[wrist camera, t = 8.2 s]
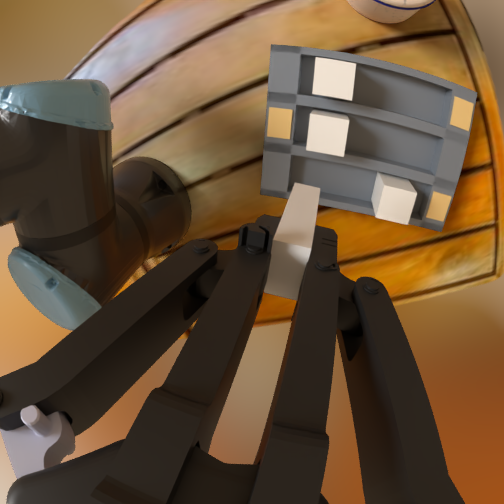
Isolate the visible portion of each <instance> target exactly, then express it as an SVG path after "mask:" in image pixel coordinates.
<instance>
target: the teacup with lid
mask: <svg viewBox="0 0 504 504" xmlns="http://www.w3.org/2000/svg"><path fill="white" fill-rule="evenodd" d="M347 1H348V3H349V4H350V5H351V6H352V7H353V8H354V9H355V10H356V11H357V12H359V13H360V14H361V15H363V16H365V17H367V18H369V19H371V20H374V21H377V22H381V23H399V22H402V21H405V20H407V19H408V18H410V17H411V16H412V15H414V14H415V13H416V12H417V11H419V10H420V9H422V8H425V7H427V6H429V5H431V4H432V3H433V2H435V1H436V0H347Z"/></svg>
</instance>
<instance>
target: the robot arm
mask: <svg viewBox="0 0 504 504" xmlns="http://www.w3.org/2000/svg"><path fill="white" fill-rule="evenodd" d="M112 129H113V123H112V122H111V107H110V92H109V90H108V88H107V86H106V85H105V84H104V83H102V82H101V81H99V80H94V79H70V80H52V81H39V82H30V83H22V84H15V85H7V86H2V87H0V226H3V225H6V224H9V223H13V225H14V227H15V231H16V235H17V238H18V241H19V246H18V247H15V248H14V249H12V252H11V254H10V255H9V257H8V268H9V271H10V273H11V276H12V278H13V279H14V281H15V283H16V284H17V286H18V287H19V289H20V290H21V292H22V293H23V294H24V295H25V296H26V298H27V299H28V300H29V301H30V302H31V303H32V304H33V305H34V307H35V308H37V309H38V310H39V311H40V312H41V313H42V314H43V315H44V316H46V317H47V318H48V319H50V320H51V321H52V322H54V323H56V324H57V325H59V326H61V327H63V328H65V329H68V330H72V332H71V333H70V334H69V335H67V336H66V337H65V338H64V339H63V340H61V341H60V342H59V343H58V344H57V345H55V346H54V347H53V348H52V349H51V350H49V351H48V352H47V353H46V354H45V355H44V356H42V357H41V358H40V359H39V360H38V361H37V362H35V363H33V364H30V365H28V366H26V367H23V368H21V369H19V370H16V371H14V372H11V373H9V374H7V375H4V376H2V377H0V431H1V433H2V437H3V440H4V444H5V447H6V450H7V453H8V456H9V459H10V462H11V465H12V467H13V470H14V473H15V475H16V478H17V480H16V481H15V482H14V483H13V484H12V486H11V487H10V489H9V491H8V495H7V502H6V504H329V503H328V501H327V500H326V499H325V497H324V496H323V495H322V494H321V493H320V492H321V487H322V482H323V477H324V472H325V466H326V461H327V455H328V449H329V436H328V435H327V434H326V421H327V415H328V408H329V399H330V392H331V384H332V375H333V364H334V355H335V342H336V334H337V339H338V343H339V348H340V352H341V357H342V362H343V367H344V372H345V377H346V382H347V388H348V393H349V398H350V404H351V410H352V415H353V421H354V427H355V433H356V439H357V446H358V453H359V460H360V468H361V475H362V483H363V491H364V497H365V503H366V504H465V502H464V501H463V499H462V497H461V496H460V494H459V492H458V490H457V489H456V487H455V485H454V484H453V482H452V480H451V478H450V477H449V475H448V470H447V466H446V461H445V457H444V453H443V449H442V445H441V441H440V437H439V433H438V430H437V426H436V423H435V419H434V415H433V412H432V409H431V406H430V402H429V399H428V396H427V393H426V390H425V387H424V384H423V381H422V378H421V375H420V372H419V369H418V367H417V364H416V361H415V358H414V356H413V353H412V350H411V348H410V345H409V342H408V340H407V338H406V335H405V332H404V330H403V327H402V325H401V323H400V320H399V318H398V315H397V313H396V311H395V308H394V306H393V303H392V301H391V299H390V297H389V294H388V292H387V290H386V288H385V287H384V285H383V284H382V283H381V282H379V281H378V280H376V279H374V278H371V277H361V278H359V279H357V281H356V282H355V281H352V280H350V279H348V278H347V277H345V276H344V275H342V274H341V273H340V269H339V265H338V264H337V234H336V233H335V231H334V230H333V229H329V228H325V227H321V226H316V225H315V223H316V216H317V209H318V202H319V195H320V188H317V187H313V186H309V185H304V184H300V183H295V184H294V186H293V189H292V191H291V194H290V197H289V199H288V202H287V205H286V207H285V210H284V213H283V215H282V218H278V217H274V216H269V215H265V214H264V215H262V216H261V217H259V218H258V219H257V220H256V222H255V223H248V224H245V225H243V226H241V227H240V231H239V242H238V247H237V249H235V250H218V246H217V245H216V244H215V243H214V242H212V241H211V240H207V239H195V240H192V241H190V242H188V243H187V244H185V245H184V246H182V247H181V248H180V249H178V250H177V251H176V252H174V253H173V254H171V255H170V256H169V257H167V258H166V259H165V260H163V261H162V262H161V263H159V264H158V265H157V266H155V267H154V268H153V269H151V270H150V271H149V272H147V273H146V274H145V275H143V276H142V277H141V278H139V279H138V280H137V281H135V282H134V283H133V284H131V285H130V286H129V287H128V288H126V289H125V290H124V291H122V292H121V293H120V294H119V295H117V296H116V297H115V298H113V297H114V296H115V295H116V294H117V293H118V291H119V290H120V289H121V288H122V287H123V286H124V284H125V283H126V282H127V281H128V280H129V278H130V277H131V276H132V275H133V274H134V273H135V272H136V270H137V269H138V268H139V267H140V266H141V265H142V264H143V263H144V262H145V261H146V260H148V259H151V258H153V257H155V256H157V255H159V254H161V253H164V252H166V251H168V250H170V249H172V248H173V247H174V246H175V245H176V244H177V243H178V242H179V241H180V240H181V239H182V238H183V236H184V235H185V234H186V232H187V230H188V228H189V225H190V220H191V206H190V201H189V197H188V195H187V192H186V190H185V188H184V186H183V184H182V182H181V181H180V179H179V178H178V177H177V176H176V174H175V173H174V172H173V171H172V170H171V169H169V168H168V167H167V166H166V165H164V164H163V163H161V162H159V161H157V160H155V159H152V158H148V157H133V158H130V159H127V160H125V161H123V162H121V163H120V164H118V165H116V166H115V167H114V168H113V167H112V142H111V130H112ZM264 288H265V289H264ZM263 291H264V293H268V294H272V295H276V296H280V297H284V298H289V299H293V300H297V302H296V306H295V309H294V313H293V316H292V319H291V321H292V323H291V328H290V332H289V336H288V340H287V344H286V349H285V353H284V357H283V361H282V365H281V369H280V373H279V377H278V381H277V385H276V388H275V392H274V396H273V400H272V403H271V407H270V411H269V414H268V418H267V422H266V425H265V429H264V432H263V436H262V439H261V443H260V446H259V449H258V452H257V455H256V458H255V461H254V464H253V465H250V464H248V465H247V464H227V463H223V462H221V461H219V460H218V459H216V458H214V457H213V456H211V455H209V454H208V451H209V448H210V444H211V440H212V437H213V434H214V431H215V429H216V426H217V423H218V420H219V417H220V415H221V413H222V410H223V407H224V405H225V402H226V399H227V396H228V394H229V391H230V388H231V385H232V383H233V380H234V377H235V375H236V372H237V369H238V366H239V364H240V360H241V358H242V355H243V352H244V350H245V347H246V344H247V341H248V338H249V335H250V333H251V330H252V327H253V324H254V321H255V318H256V315H257V313H258V310H259V307H260V304H261V301H262V296H263ZM197 319H198V320H197ZM196 320H197V322H196V324H195V326H194V327H193V329H192V331H191V333H190V335H189V337H188V339H187V341H186V343H185V344H184V346H183V348H182V350H181V352H180V354H179V356H178V357H177V359H176V361H175V363H174V365H173V367H172V369H171V371H170V373H169V374H168V377H167V378H166V380H165V382H164V384H163V385H162V386H161V387H159V388H155V389H154V390H152V391H151V393H150V394H149V396H148V397H147V399H146V401H145V403H144V404H143V406H142V409H141V410H140V412H139V414H138V416H137V418H136V419H135V421H134V423H133V425H132V427H131V429H130V431H129V433H128V434H127V436H126V439H123V440H120V441H117V442H114V443H112V444H110V445H108V446H105V447H103V448H100V449H98V450H95V451H93V452H91V453H88V454H85V455H83V456H80V457H78V458H75V459H72V460H69V461H67V462H64V463H61V461H62V459H63V458H64V457H65V456H66V455H70V454H72V453H73V452H74V450H75V436H76V435H79V434H81V433H82V432H83V431H85V430H86V429H88V428H89V427H91V426H92V425H93V424H94V423H95V422H97V421H98V420H99V419H100V418H101V417H102V416H103V415H104V414H105V413H106V412H107V411H108V410H109V409H110V408H111V407H112V406H113V405H114V404H115V403H116V402H117V401H118V400H119V399H120V398H121V397H122V396H123V395H124V394H125V392H127V390H128V389H130V387H131V386H132V385H133V384H134V383H135V382H136V381H137V380H138V379H139V378H140V377H141V376H142V375H143V374H144V373H145V372H146V371H147V370H148V369H149V368H150V367H151V366H152V365H153V364H154V363H155V362H156V361H157V360H158V359H159V358H160V357H161V356H162V355H163V354H164V353H165V352H166V351H167V350H168V349H169V348H170V347H171V346H172V344H173V343H174V342H175V341H176V340H177V339H178V338H179V337H180V336H181V335H182V334H183V333H184V332H185V331H186V330H187V329H188V328H189V327H190V326H191V325H192V324H193V323H194V322H195V321H196ZM60 463H61V464H60Z"/></svg>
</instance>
